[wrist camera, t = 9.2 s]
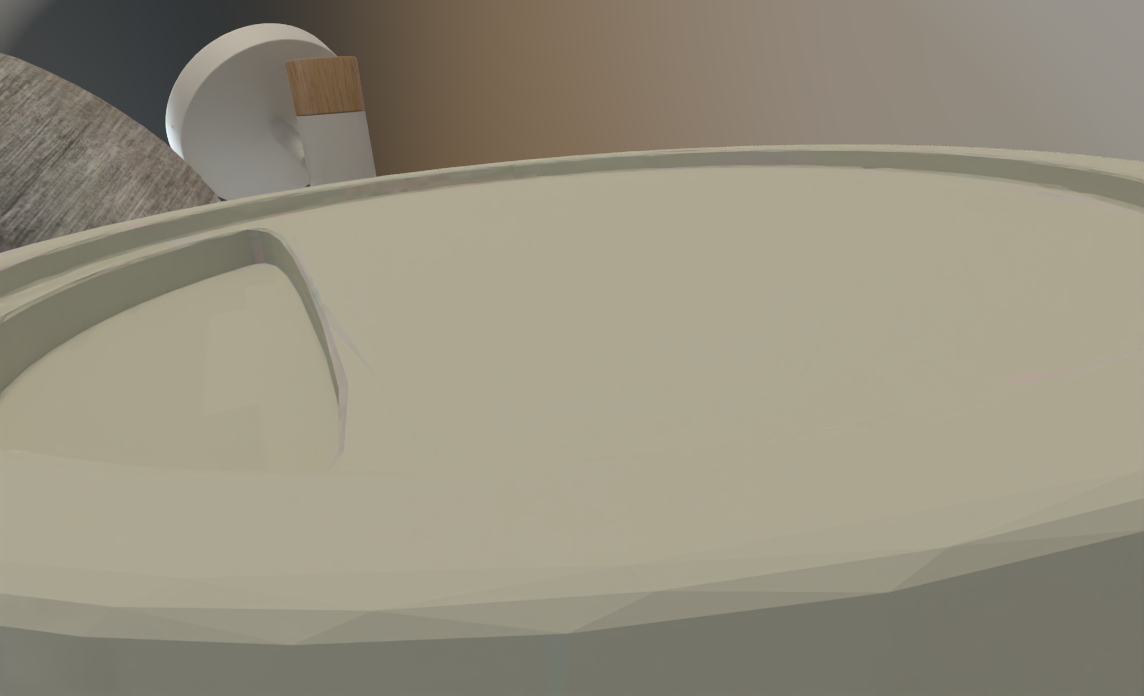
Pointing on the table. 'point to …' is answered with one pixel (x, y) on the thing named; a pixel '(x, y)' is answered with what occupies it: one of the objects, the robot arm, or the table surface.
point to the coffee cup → (588, 433)
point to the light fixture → (270, 113)
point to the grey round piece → (79, 161)
